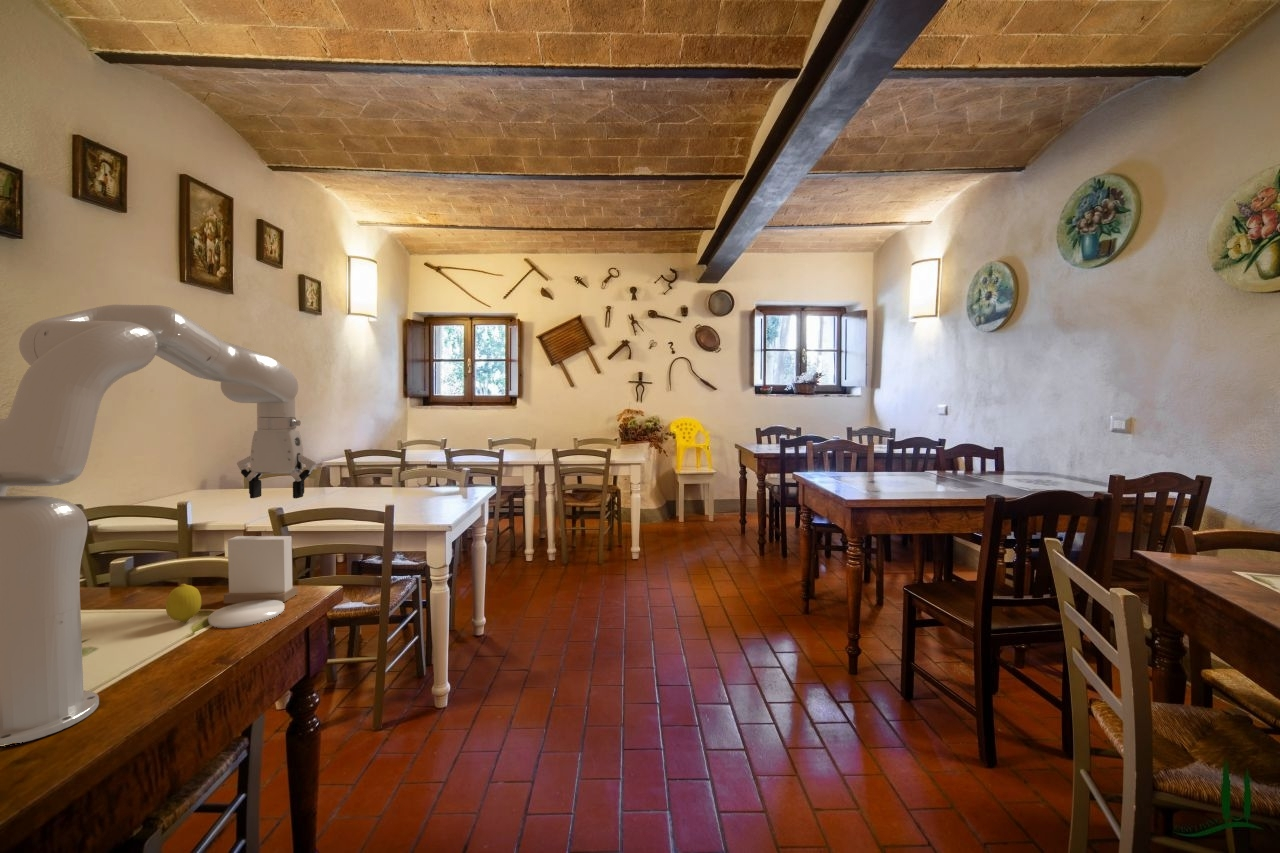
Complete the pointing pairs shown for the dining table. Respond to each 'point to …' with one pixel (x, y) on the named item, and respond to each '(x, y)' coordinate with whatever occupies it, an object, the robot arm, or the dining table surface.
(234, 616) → the white round disc
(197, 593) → the lemon
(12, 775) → the dining table surface
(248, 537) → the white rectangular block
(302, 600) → the dining table surface
